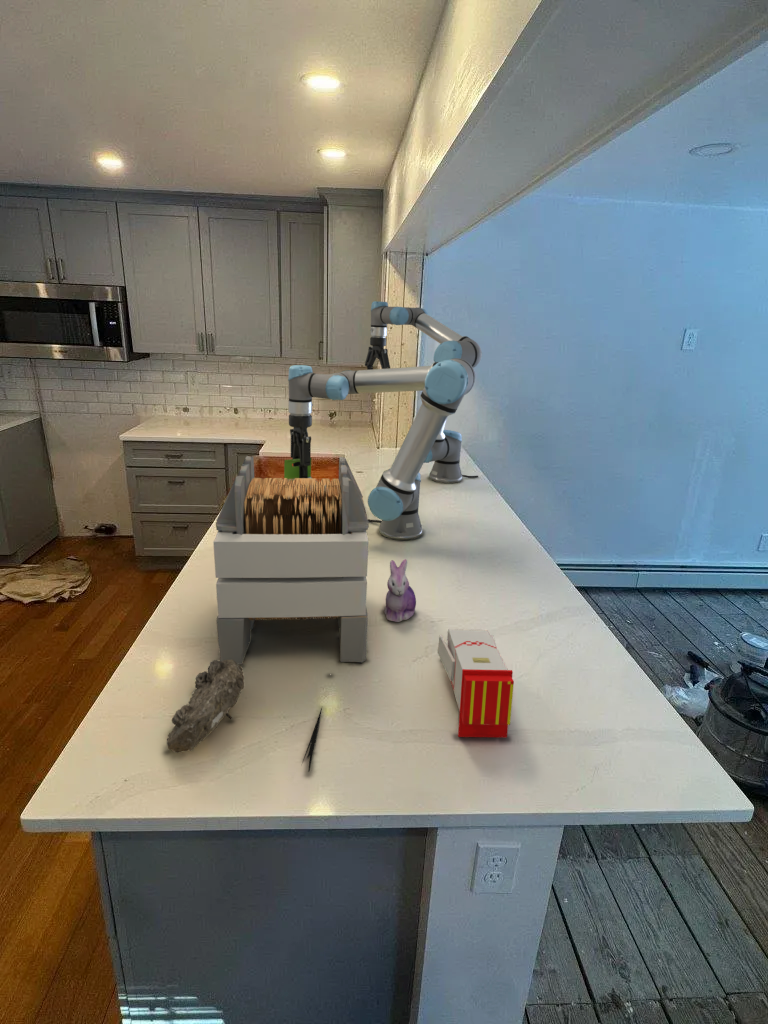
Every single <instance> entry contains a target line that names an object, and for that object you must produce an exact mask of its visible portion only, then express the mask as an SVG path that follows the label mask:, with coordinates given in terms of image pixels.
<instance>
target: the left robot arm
mask: <svg viewBox="0 0 768 1024" xmlns="http://www.w3.org/2000/svg"><path fill="white" fill-rule="evenodd" d="M287 382H288V401H287V402H288V413H289V415H288V425H289V426H290V427H291V428H290V429H289V434H290V435H289V436H290V458H291V459H300V462H295V463H293V464H292V466H293V467H296V466H299V478H308V466H310V465H311V466H312V457H311V456H312V455H311V454H312V453H311V452H312V451H311V449H312V448H311V447H312V445H311V444H312V436H309V433H308V428H311V427H312V425H313V416H312V413H313V407H314V403H313V398H317V399H324V400H332V401H344V400H345V399H347V397H348V395H358V394H377V393H379V394H380V393H399V392H400V393H401V392H421V393H420V394H419V395H420V397H419V398H420V400H421V405H420V407H419V409H418V411H417V413H416V415H415V417H414V419H413V421H412V423H411V425H410V427H409V430H408V431H407V434H406V436H405V437H404V439H403V442H402V444H401V445H400V448H399V450H398V452H397V454H396V456H395V458H394V460H393V462H392V464H391V466H390V468H388V469H386V470H384V471H383V472H382V474H381V476H380V478H379V480H378V482H377V484H376V486H375V487H374V488H373V489H372V490H371V491H370V492H369V494H368V497H367V506H368V508H369V511H370V513H371V514H372V515H373V516H374V517H376V518H377V519H369V518H368V523H376V524H379V527H378V533H379V534H380V535H381V536H382V537H385V538H387V539H389V540H395V541H410V540H415V539H418V538H420V537H421V536H422V535H423V525H422V524H421V518H420V515H419V507H420V506H419V505H420V494H421V493H420V492H421V483H422V480H421V473H420V471H421V469H422V468H423V466H424V464H425V463H424V461H425V459H426V457H427V455H428V454H429V452H430V450H431V448H432V446H433V444H434V442H435V440H436V438H437V436H438V434H439V432H440V430H441V428H442V426H443V424H444V422H445V421H446V422H447V420H448V417H449V416H451V415H455V414H456V412H457V410H458V408H459V406H460V405H461V403H462V401H463V399H464V397H465V395H467V394H468V393H469V392H470V391H471V390H472V389H473V387H474V386H475V383H476V372H475V368H473V367H472V366H471V364H470V363H468V362H467V361H465V360H463V359H460V358H454V359H450V360H444V361H441V362H434V361H433V362H432V364H431V365H424V366H409V367H408V366H406V367H390V368H389V369H382V368H373V370H367V369H359V370H350V369H347V370H342V371H338V372H335V373H329V374H324V373H315V372H314V371H313V367H312V366H311V365H306V364H294V365H291V366H290V367H289V368H288V379H287ZM446 419H447V420H446Z"/></svg>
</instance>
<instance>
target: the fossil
mask: <svg viewBox="0 0 768 1024" xmlns="http://www.w3.org/2000/svg"><path fill="white" fill-rule="evenodd" d="M243 670H244V669H243V667H242V665H241V664H236V662H235V661H234V660H232V659H231V660H228V659H227V660H224V661H223V662H222V661H220V660H217V659H212V660H211V661H210V663H209V665H208V666H207V671H201V672H199V673H198V674H197V675H196V676H195V680H194V684H195V685H194V687H195V689H194V690H193V693H192V694H191V697H190V698H189V700H188V704H184V705H182V706H181V707H180V709H177V710H176V711H175V713H174V715H173V716H172V718H171V723H172V724H173V727H172V730H171V731H170V732H168V734H167V738H166V741H167V742H166V745H167V749H168V750H169V751H173V752H174V753H176V754H178V753H182V752H188V751H189V752H192V751H193V750H195V748H196V747H197V746H199V744H200V743H201V742H203V741H204V740H205V739H206V738H207V737H208V736H209V735H210V734H211V733H212V732H214V730H215V729H217V727H218V726H219V724H220V722H221V721H222V720H223V719H224V718H225V716H226V717H227V719H229V720H233V717H232V715H230V714H229V710H230V709H231V708H234V706H235V704H236V703H237V702H238V699H239V697H240V695H241V693H242V691H243V690H245V689H244V688H245V675H244V671H243Z"/></svg>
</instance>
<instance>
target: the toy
mask: <svg viewBox="0 0 768 1024" xmlns="http://www.w3.org/2000/svg"><path fill="white" fill-rule="evenodd" d="M446 640H447V643H446V641H445V639H444V636H443V635H442V634H439V637H438V646H437V656H438V657H439V659H440V661H441V663H442V666H443V668H444V670H445V672H446V674H447V677H448V679H449V681H450V684H451V687H452V690H453V693H454V697H455V701H456V705H457V708H458V711H459V714H458V715H459V716H458V730H457V731H458V732H457V737H458V738H508V731H509V726H510V725H511V717H512V707H513V697H514V696H513V695H514V684H515V680H514V679H513V673H514V671H513V670H512V669H508V667H507V665H506V662H505V661H504V659H503V658H502V655H501V653H500V651H499V649H498V647H497V643H496V639H495V637H494V635H493V634H491V632H490V631H489V629H467V628H466V629H465V628H463V629H461V628H460V629H459V628H448V630H447V639H446Z"/></svg>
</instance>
